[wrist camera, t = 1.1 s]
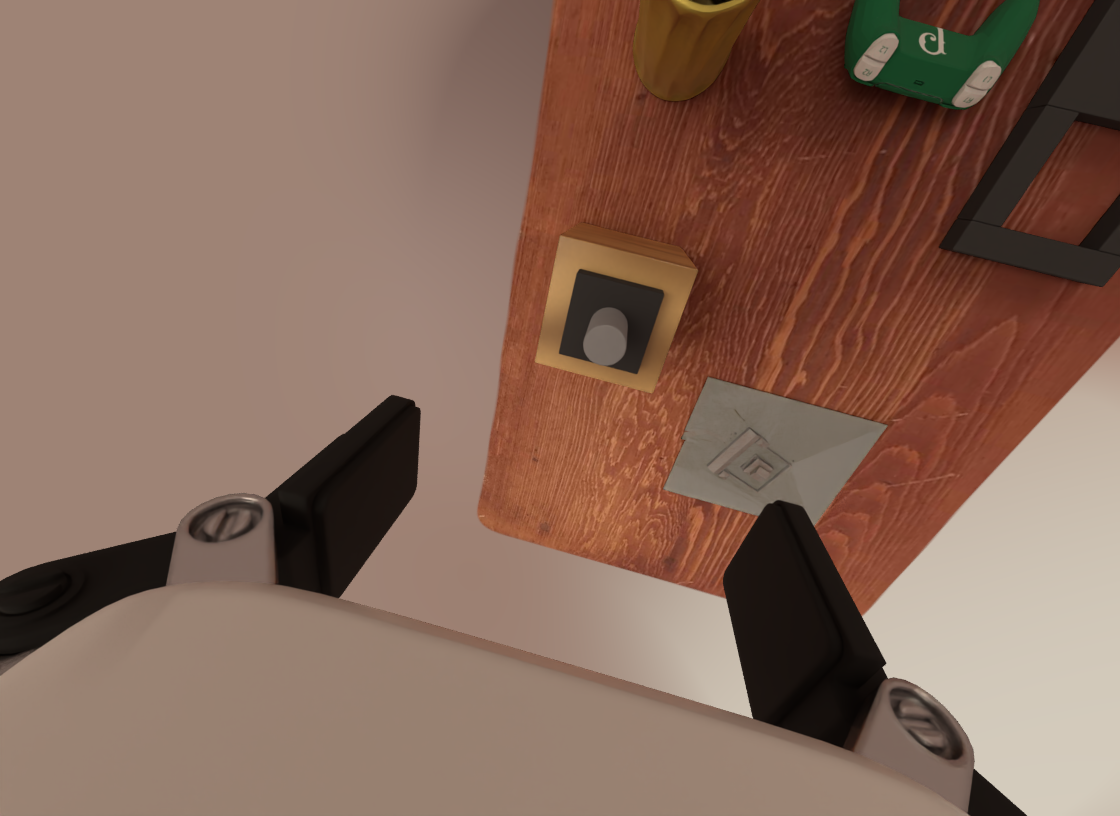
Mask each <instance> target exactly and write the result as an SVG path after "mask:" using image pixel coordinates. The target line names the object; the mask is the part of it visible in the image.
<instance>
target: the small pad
mask: <svg viewBox="0 0 1120 816" xmlns="http://www.w3.org/2000/svg"><path fill="white" fill-rule="evenodd" d="M663 298H664V292H663V290H661V289H658V288H654V287H650V286H646V285H642V284H638V283H634V282H630V281H626V280H622V279H618V278H615V277H611V276H607V275H603V274H599V273H595V272H591V271H587V270H583V269H579V270H578V272H577V274H576V278H575V283H574V287H573V291H572V296H571V300H570V305H569V309H568V313H567V318H566V322H565V327H564V331H563V335H562V340H561V344H560V349H559V354H561V355H565V356H569V357H573V358H577V359H580V360H584V361H588V362H592V363H595V364H598V365H602V366H607V367H611V368H614V369H618V370H622V371H626V372H629V373H633V374H638V372H639V369H640V366H641V363H642V360H643V357H644V354H645V351H646V348H647V345H648V342H649V339H650V336H651V333H652V330H653V327H654V324H655V321H656V319H657V316H658V313H659V310H660V307H661V304H662V301H663Z"/></svg>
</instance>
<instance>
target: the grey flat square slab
mask: <svg viewBox="0 0 1120 816" xmlns="http://www.w3.org/2000/svg"><path fill="white" fill-rule="evenodd" d="M887 426H888V425H885V424H881V423H877V422H874V421H870V420H866V419H862V418H859V417H855V416H851V415H847V414H844V413H840V412H836V411H833V410H829V409H825V408H821V407H818V406H814V405H810V404H806V403H803V402H799V401H795V400H792V399H788V398H784V397H780V396H777V395H773V394H769V393H766V392H762V391H758V390H754V389H751V388H747V387H743V386H739V385H736V384H732V383H728V382H725V381H721V380H717V379H713V378H710V377H708V379H707V381H706V383H705V385H704V388H703V390H702V392H701V394H700V397H699V399H698V401H697V403H696V406H695V408H694V410H693V412H692V415H691V417H690V419H689V421H688V424H687V426H686V428H685V431H689V432H684V434H683V436H682V438H681V439H684V440H686V441H685V442H684V444H683V446H682V448H681V451H680V453H679V455H678V457H677V459H676V462H675V464H674V466H673V468H672V471H671V473H670V475H669V477H668V479H667V482H666V484H665V486H664V488H663V489H664V490H667V491H671V492H674V493H678V494H682V495H685V496H689V497H692V498H696V499H699V500H703V501H707V502H710V503H714V504H717V505H721V506H725V507H728V508H732V509H735V510H739V511H742V512H746V513H750V514H753V515H757V516H759V515H760V513H761V512H762V510H763V509H764V507H765V506H766V505H767V504H768V503H772V504H773V503H774V502H775V501H776V500H782V501H786V502H789V503H793V504H797V505H800V506H802V507H803V508H804V509H805V510H806V512H807V514H808V516H809V518H810V520H811V522H812V524H813V526H814V525H815V524H816V523H817V521H818V520H819V519H820V517H821V516H822V514H823V513H824V512H825V510H826V509H827V508H828V506H829V505H830V504H831V502H832V501H833V499H834V498H835V497H836V495H837V494H838V493H839V491H840V490H841V489H842V487H843V486H844V484H845V483H846V482H847V480H848V479H849V478H850V476H851V475H852V474H853V472H854V471H855V469H856V468H857V467H858V465H859V464H860V463H861V461H862V460H863V459H864V457H865V456H866V454H867V453H868V452H869V450H870V449H871V448H872V446H873V445H874V444H875V442H876V441H877V439H878V438H879V437H880V435H881V434H882V433H883V431H884V430H885V429H886V427H887Z"/></svg>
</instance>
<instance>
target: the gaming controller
mask: <svg viewBox="0 0 1120 816" xmlns="http://www.w3.org/2000/svg"><path fill="white" fill-rule="evenodd" d="M1039 2H1040V0H1006V1H1004V2H1003V3H1002V4H1001V5H1000V6H999V7H998V8H997V9H995V10H994V12H993V13H992V14H991V15H990V16H989V17H988V18H987V19H986V21H985V22H984V23H983V24H982V25H981V27H980V28H979V29H978V30H977V31H976V32H975V34H974V35H972V36H967V35H963V34H959V33H956V32H952V31H949V30H945V29H941V28H938V27H934V26H930V25H927V24H923V23H920V22H916V21H912V20H909V19H905V18H902V17H900V16H899V3H900V0H855V3H854V6H853V10H852V14H851V18H850V21H849V25H848V29H847V33H846V40H845V58H844V59H845V64H844V68H846V69H848V72H849V75H850V77H851V78H852V79H854V80H855V81H857V82H859V83H862V84H865V85H867V86H870V87H871V86H873V85H875V86H876V87H879V88H882V89H885V90H888V91H891V92H894V93H898V94H902V95H906V96H909V97H913V98H917V99H921V100H924V101H928V102H932V103H936V104H939V105H940V106H942V107H946V108H950V109H956V110H965V109H967V108H969V107H972V106H973V105H975V104H976V103H977V102H979V101H980V100H981V99H982V98H983V97H984V96H985V95H986V94H987V93H988V92H989V91H990V90H991V88H992V87H993V85H994V84H995V83H996V81H997V80H998V78H999V77H1000V76H1001V74H1002V73H1003V71H1004V70H1005V68H1006V67H1007V65H1008V64H1009V62H1010V61H1011V59H1012V58H1013V57H1014V55H1015V53H1016V52H1017V50H1018V48H1019V47H1020V45H1021V44H1022V42H1023V40H1024V39H1025V37H1026V35H1027V33H1028V31H1029V29H1030V28H1031V26H1032V24H1033V22H1034V20H1035V18H1036V15H1037V11H1038V6H1039Z"/></svg>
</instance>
